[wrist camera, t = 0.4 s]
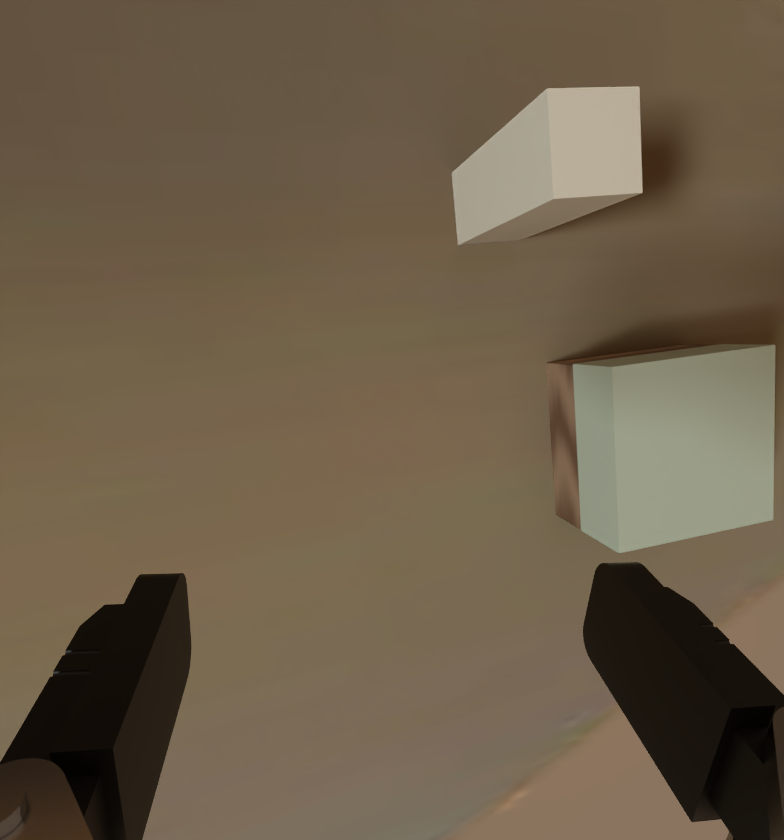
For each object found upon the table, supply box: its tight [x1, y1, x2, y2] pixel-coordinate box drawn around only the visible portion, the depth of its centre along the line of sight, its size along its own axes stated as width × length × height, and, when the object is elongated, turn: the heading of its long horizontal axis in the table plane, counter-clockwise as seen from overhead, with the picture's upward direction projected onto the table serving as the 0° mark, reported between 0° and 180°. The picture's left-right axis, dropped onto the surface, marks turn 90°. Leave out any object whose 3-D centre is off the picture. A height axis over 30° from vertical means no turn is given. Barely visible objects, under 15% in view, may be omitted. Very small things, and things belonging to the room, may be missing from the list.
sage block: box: [573, 344, 775, 553], centre depth 34 cm, size 11×11×4 cm
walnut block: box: [546, 345, 710, 530], centre depth 38 cm, size 11×11×4 cm
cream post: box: [452, 87, 643, 245], centre depth 29 cm, size 4×4×12 cm
